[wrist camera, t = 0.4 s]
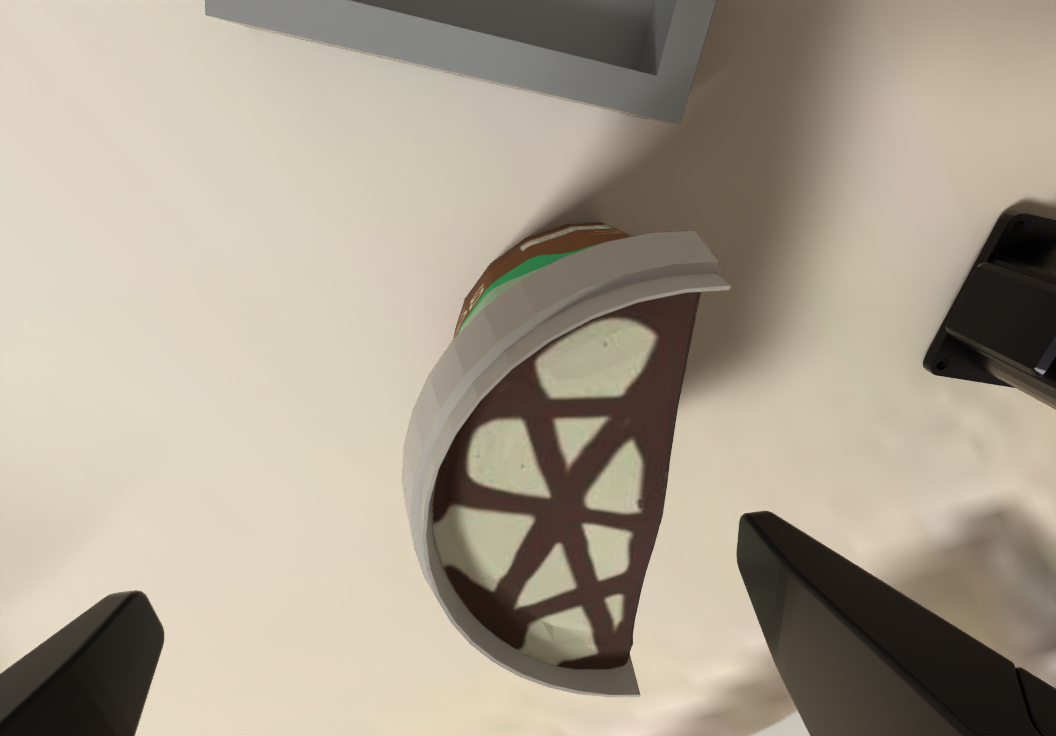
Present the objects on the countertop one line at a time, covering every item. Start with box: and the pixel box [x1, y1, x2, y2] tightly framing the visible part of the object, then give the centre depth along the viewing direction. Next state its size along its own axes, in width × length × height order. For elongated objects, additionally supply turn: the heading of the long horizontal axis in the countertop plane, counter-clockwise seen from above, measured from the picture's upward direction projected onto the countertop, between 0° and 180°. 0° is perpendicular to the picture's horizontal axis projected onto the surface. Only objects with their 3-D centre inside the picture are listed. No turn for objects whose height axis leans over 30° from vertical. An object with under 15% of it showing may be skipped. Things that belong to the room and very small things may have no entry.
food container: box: [402, 223, 731, 697], centre depth 17 cm, size 12×6×10 cm, turn 176°
